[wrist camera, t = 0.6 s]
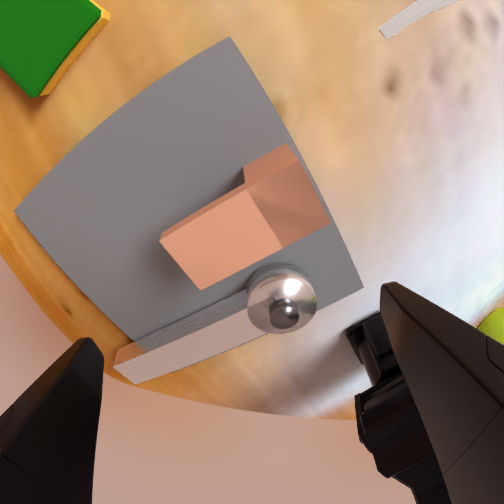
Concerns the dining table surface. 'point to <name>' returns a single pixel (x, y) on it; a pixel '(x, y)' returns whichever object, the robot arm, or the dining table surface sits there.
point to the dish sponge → (45, 39)
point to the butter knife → (412, 15)
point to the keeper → (247, 220)
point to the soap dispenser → (494, 325)
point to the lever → (224, 324)
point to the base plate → (170, 195)
